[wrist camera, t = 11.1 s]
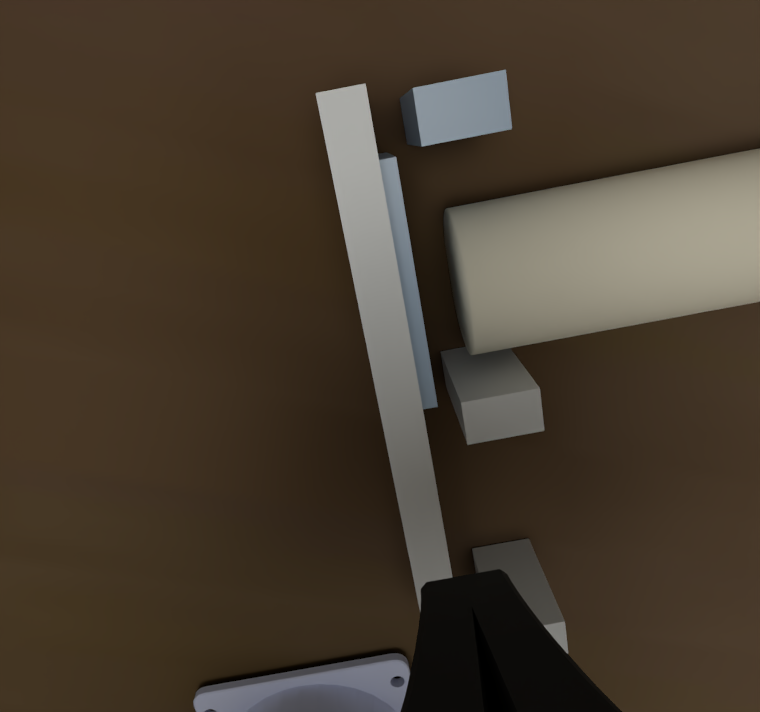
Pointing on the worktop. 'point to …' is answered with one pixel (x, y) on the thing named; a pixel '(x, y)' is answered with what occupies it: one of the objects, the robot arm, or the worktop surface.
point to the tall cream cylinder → (606, 252)
